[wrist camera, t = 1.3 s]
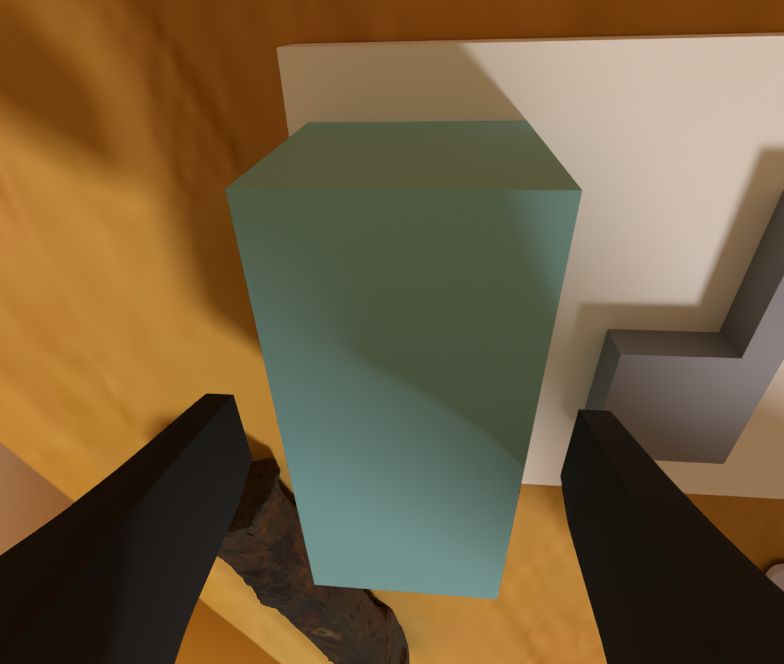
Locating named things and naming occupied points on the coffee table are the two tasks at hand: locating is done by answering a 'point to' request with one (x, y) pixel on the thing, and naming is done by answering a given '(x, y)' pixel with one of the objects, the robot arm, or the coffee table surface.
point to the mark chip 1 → (679, 391)
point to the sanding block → (406, 336)
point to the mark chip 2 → (761, 298)
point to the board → (607, 188)
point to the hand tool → (304, 578)
